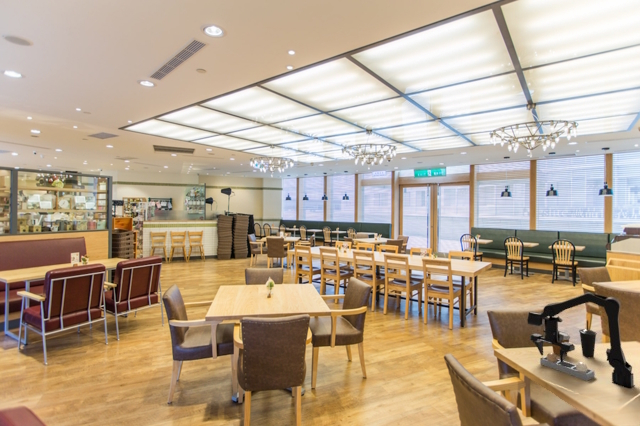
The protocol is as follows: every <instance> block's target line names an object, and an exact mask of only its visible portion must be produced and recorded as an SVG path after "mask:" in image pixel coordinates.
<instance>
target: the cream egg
mask: <svg viewBox="0 0 640 426" xmlns="http://www.w3.org/2000/svg"><path fill="white" fill-rule="evenodd" d="M575 365H576V370H578V371H581V372H583V373H587V369H588V366H587V364H585V363H584V362H581V361H579V362H577V363H575Z"/></svg>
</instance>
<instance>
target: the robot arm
mask: <svg viewBox="0 0 640 426" xmlns="http://www.w3.org/2000/svg"><path fill="white" fill-rule="evenodd" d="M589 302H590V303H592V304H594V305H597V306H599V307H602V308H604V312H605V315H606V316H607V320H608V332H609V334H608V335H609V343H610V348H606V350H605V353H606V362H608V365H609V366H610V367H612V368H613V371H612V372H611V381H612V382H611V383H612V384H614V385H616V386H620V387H623V388H626V389H628V390H631V389H633V388H634V387H635V386H636V384H634V382H635V381H634V373H633V365H631V364H630V363H629V362H628V361H627V359H626V356H625V353H624V350H623V348H622V341H621V329H620V320H619V317H620V310H621V305H622V304H621V301H620V300H619V299H618V298H617V297H614V296H609V297H607V296H605V295H600V294H595V293H594V292H589V291H588V292H586V293H584V294H580V295H578V296H576V297H575V296H574V297H572V298H569V299H567V300H564V301H560V302H552V303H548V304H546V305H545V306H544V307H543V311H542V312H540V313H537V312H533V311H528V316H527V319H526V320H527V324H528V325H531V326H536V327H539V328H541V327H542V326H543V325H544V329H543V333H544V336H543V335H542V334H539V333H532V334H530V336H529V340H530V341H532V343H533V344H534V345H535V346H536V348H537V349H538V352H539V354H540V355H541V356H544V343H548V344H551V345H552V344H554V345H557V346H560V348H561V349H560V355H559V359H560V360H561V362H563V361H565V360H564V359H565V357H566V356H565V355H566V354H567V355H568V353H570V352H573V351H575V349H576V346H575V345H574V344H573V343H571V342H569V343H568V342H564V343H560V342H558V341H563V338H564V335H562V334H560V333H559V331H560V330H559V323H562V322H563V319H562V318H560V316H559V314H560V313H562V312H564V311H565V310H568V309H572V308H574V307H578V306H581V305H583V304H586V303H589ZM556 316H557V317H556Z"/></svg>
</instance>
